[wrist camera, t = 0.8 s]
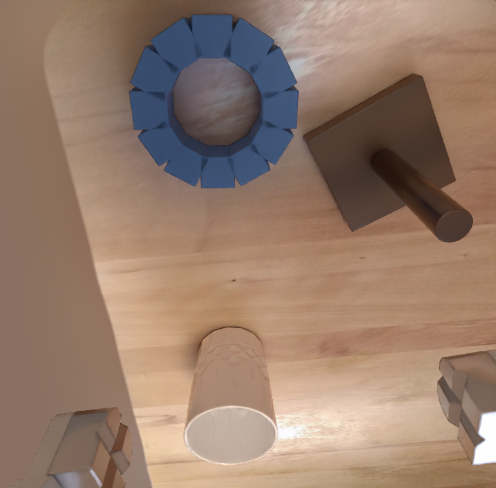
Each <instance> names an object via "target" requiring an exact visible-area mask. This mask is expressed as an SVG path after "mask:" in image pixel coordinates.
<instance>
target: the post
mask: <svg viewBox="0 0 496 488" xmlns="http://www.w3.org/2000/svg"><path fill="white" fill-rule="evenodd" d="M304 138H305V140H306V142H307V144H308V146H309V148H310V150H311V152H312V154H313V156H314V158H315V160H316V162H317V164H318V166H319V168H320V170H321V172H322V174H323V176H324V178H325V180H326V182H327V184H328V186H329V188H330V190H331V192H332V194H333V196H334V198H335V200H336V202H337V204H338V206H339V208H340V210H341V212H342V214H343V216H344V218H345V220H346V222H347V224H348V226H349V228H350V229H351V231H352V232H353V231H355V230H357V229H359V228H361V227H364V226H366V225H368V224H370V223H372V222H374V221H376V220H378V219H380V218H382V217H384V216H386V215H388V214H390V213H392V212H394V211H396V210H398V209H400V208H402V207H404V206H406V205H407V207H408V208H409V209H410V210H411V211H412V212H413V213H414V214H415V215H416V216H417V217H418V218H419V219H420V220H421V221H422V222H423V223H424V224H425V225H426V227H427V228H428V229H429V230H430V231H431V232H432V233H433V234H434V235H435V236H436V237H437V238H438V239H439V240H441V241H443V242H455V241H458V240H460V239H462V238H463V237H465V236H466V235H467V234H468V233H469V231H470V230H471V228H472V224H473V218H472V215H471V214H470V213H469V212H468V211H467V210H466V209H464V208H463V207H462V206H461V205H459V204H458V203H457V202H456V201H454V200H453V199H452V198H451V197H450V196H448V195H447V194H446V193H445V192H443V191H442V190H441V188H443V187H445V186H447V185H449V184H451V183H453V182H455V181H456V179H455V176H454V173H453V170H452V167H451V164H450V161H449V158H448V154H447V151H446V148H445V145H444V142H443V139H442V136H441V133H440V130H439V126H438V123H437V120H436V117H435V114H434V111H433V108H432V105H431V102H430V98H429V95H428V92H427V89H426V86H425V83H424V80H423V77H422V76H420V75H417V74H412V75H410V76H408V77H407V78H405V79H403V80H401V81H400V82H398V83H396V84H394V85H393V86H391V87H389V88H387V89H386V90H384V91H382V92H380V93H379V94H377V95H375V96H373V97H371V98H370V99H368V100H366V101H364V102H363V103H361V104H359V105H357V106H356V107H354V108H352V109H350V110H349V111H347V112H345V113H343V114H341V115H340V116H338V117H336V118H334V119H333V120H331V121H329V122H327V123H326V124H324V125H322V126H320V127H319V128H317V129H315V130H313V131H312V132H310V133H308V134H306V135H304Z"/></svg>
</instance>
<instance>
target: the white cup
mask: <svg viewBox="0 0 496 488" xmlns="http://www.w3.org/2000/svg"><path fill="white" fill-rule="evenodd" d="M277 438H278V430H277V424H276V418H275V412H274V405H273V399H272V393H271V387H270V381H269V376H268V372H267V367H266V364H265V360H264V355H263V348H262V343H261V342H260V341H259V339H258V338H257V337H256V336H255V335H254V334H253V333H251V332H249V331H246V330H244V329H242V328H230V327H226V328H223V329H219V330H216V331H213V332H212V333H210V334H209V335H208V336H207V337H205V338H204V339H203V341H202V343H201V346H200V348H199V352H198V359H197V363H196V367H195V371H194V377H193V382H192V387H191V393H190V399H189V405H188V412H187V418H186V424H185V430H184V441H185V444H186V446H187V448H188V449H189V450H190V451H191V452H192V453H193V454H194V455H195V456H197V457H198V458H200V459H202V460H205V461H207V462H210V463H214V464H220V465H239V464H244V463H249V462H252V461H255V460H257V459H259V458H261V457H263V456H264V455H266V454H267V453H268V452H269V451H271V449H272V448H273V447H274V446H275V444H276V442H277Z"/></svg>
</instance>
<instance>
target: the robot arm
mask: <svg viewBox="0 0 496 488" xmlns="http://www.w3.org/2000/svg"><path fill="white" fill-rule="evenodd" d="M439 370H440V372H441V373H442V375H443V376H442V377H441V378H440V379H439V380H438V383H437V393H438V398H439V402H440V405H441V408H442V410H443V412H444V414H445V416H446V418H447V420H448V421H449V422H450V423H452V424H453V425H455V426H456V427H458V428H459V429H458V437H457V438H458V440H459V442H460V444H461V446H462V447H463V449H464V451H465V453H466V455H467V456H468V458H469V460H470V462H471V464H472V465H478V464H488V463H496V349H495V350H488V351H484V352H483V351H479V352H473V353H467V354H461V355H455V356H449V357H442V358H441V360H440V362H439ZM121 417H122V415H121V413H120V411H119V410H118V408H117V407H112V408H103V409H95V410H87V411H78V412H72V413H64V414H58V415H56V416H55V417H54V418H53V419H52V420H51V423H50V425H49V427H48V429H47V431H46V434H45V435H44V438H43V440H42V442H41V444H40V446H39V448H38V451H37V453H36V455H35V457H34V459H33V461H32V464H31V466H30V468H29V470H28V472H27V474H26V477H25V479H22V480H18V481H17V482H16V483H15V484H14V485H13V486H12V487H11V488H125V482H124V479H123V477H122V474H123V473H124V472H125V471H126V470H127V468H128V467H129V466H130V462H131V458H132V443H133V441H132V437H131V433H130V431H129V428H128V427H127V426H126V425H124V424H122V423H120V421H121Z"/></svg>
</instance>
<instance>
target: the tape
mask: <svg viewBox="0 0 496 488" xmlns="http://www.w3.org/2000/svg"><path fill="white" fill-rule="evenodd" d="M191 23H192V24H191ZM151 42H152V44H153V45H149V46H146V47H145V48H144V50H143V53H142V55H141V58H140V60H139V63H138V65H137V67H136V70H135V72H134V75H133V77H132V80H131V82H130V84H132V85H134V86H135V88H133V89H132V90H131V91H129V94H130V101H131V108H132V116H133V123H134V129H135V130H143V131H142V132H141V133H140V134H139V136H138V138H139V139H140V141H141V142H142V143H143V145H144V146H145V148H146V149H147V150H148V152H149V153H150V155H151V156H152V157H153V159H154V160H155V162H156V163H157V164H158V165H159V166H160V165H162V164H163V163H165V162H167V161H168V160H169V161H168V163H167V165H166V168H165V170H164V171H165V172H167V173H169V174H171V175H173V176H175V177H177V178H179V179H181V180H183V181H185V182H187V183H189V184H191V185H193V186H196V184H197V182H198V180H199V178H200V177H201V188H235V177H236V179H237V180H238V182H239V184H240V185H241V186H242V185H244V184H246V183H248V182H249V181H251V180H253V179H255V178H257V177H258V176H260V175H262V174H264V173H266V172H267V171H269V170H270V167H269V163H268V161H269V162H271V163H272V164H274V165H276V163H277V162H278V160H279V158H280V157H281V155H282V154H283V152H284V150H285V149H286V147H287V146H288V144H289V143H290V141H291V139H292V138H293V136H294V135H293V133H292V132H291V130H290V129H295V128H296V125H297V109H298V93H299V91H298V90H297V89H296V88H295V87H294V86H293V85H295V84H296V83H297V81H296V79H295V77H294V75H293V73H292V71H291V69H290V67H289V65H288V63H287V61H286V58H285V56H284V54H283V52H282V50H281V48H280V47H279V46H277V45H273V46H272V44H273V42H274V40H273V39H272V38H270V37H269V36H267V35H266V34H264V33H263V32H261V31H260V30H258V29H257V28H255V27H254V26H252V25H251V24H249V23H248V22H246V21H245V20H243V19H242V18H239V19H238V21H237V23H236V25H235V27H234V29H233V31H232V15H191V22H190V20H189V18H181V19H180V20H178V21H177V22H176V23H174V24H173V25H171V26H170V27H168V28H167V29H165V30H164V31H163V32H161V33H160V34H158V35H157V36H155V37H154V38H152V39H151ZM271 46H272V47H271ZM199 58H227V59H229V60H230V61H232V62H233V63H235V64H237V65H238V66H240V67H241V68H243V69H245V70H246V71H248V72H249V73H250V74H251V76H252V78H253V80H254V81H255V83H256V85H257V87H258V89H259V91H260V115H259V116H258V118H257V120H256V122H255V123H254V125H253V127H252V128H251V130H250V132H249V134H248V135H246V136H244V137H243V138H241V139H239V140H238V141H236V142H234V143H233V144H231V145H229V146H207V145H205V144H203V143H201V142H199V141H198V140H196V139H194V138H192V137H190V136H189V135H187V134H186V132H185V131H184V129H183V128H182V126H181V125H180V123H179V122H178V120H177V118H176V117H175V115H174V106H173V95H172V90H173V88H174V85H175V83H176V81H177V79H178V77H179V74H180V72H181V70H183V69H184V68H186V67H187V66H189V65H190V64H192V63H193V62H195V61H196V60H198V59H199Z"/></svg>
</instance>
